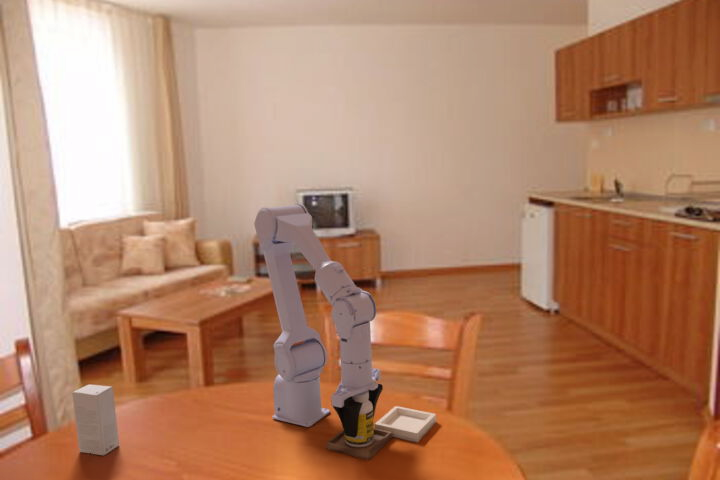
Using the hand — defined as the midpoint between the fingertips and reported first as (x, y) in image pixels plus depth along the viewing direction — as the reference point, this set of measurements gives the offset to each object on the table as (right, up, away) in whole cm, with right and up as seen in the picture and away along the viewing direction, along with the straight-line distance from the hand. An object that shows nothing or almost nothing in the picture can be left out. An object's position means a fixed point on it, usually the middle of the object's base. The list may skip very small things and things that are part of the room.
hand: (359, 428), depth 105 cm
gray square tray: (0, -3, 0) cm, 3 cm away
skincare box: (-50, -5, +3) cm, 50 cm away
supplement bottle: (0, -3, 0) cm, 3 cm away
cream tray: (+9, -2, +6) cm, 11 cm away
